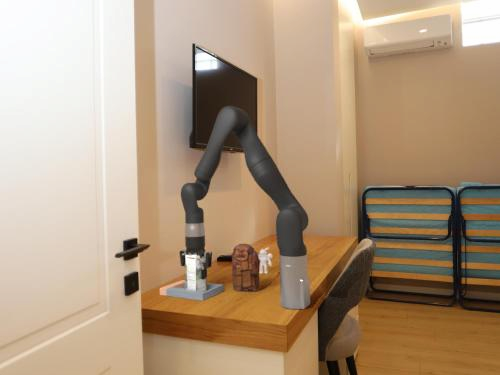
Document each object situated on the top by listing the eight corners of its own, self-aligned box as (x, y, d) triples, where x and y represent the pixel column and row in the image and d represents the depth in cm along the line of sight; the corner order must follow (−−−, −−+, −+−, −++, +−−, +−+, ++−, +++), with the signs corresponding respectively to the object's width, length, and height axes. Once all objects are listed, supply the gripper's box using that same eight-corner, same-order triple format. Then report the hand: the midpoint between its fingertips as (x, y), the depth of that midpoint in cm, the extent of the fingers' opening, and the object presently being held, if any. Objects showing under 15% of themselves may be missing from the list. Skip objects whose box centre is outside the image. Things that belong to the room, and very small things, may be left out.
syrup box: (196, 289, 155) (195, 252, 155) (207, 291, 151) (206, 253, 151) (185, 292, 151) (184, 254, 151) (196, 294, 147) (195, 255, 147)
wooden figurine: (228, 291, 153) (227, 244, 153) (233, 286, 159) (232, 242, 159) (257, 292, 150) (256, 245, 150) (262, 288, 156) (260, 242, 156)
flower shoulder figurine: (273, 272, 183) (273, 246, 183) (272, 274, 179) (271, 248, 179) (255, 271, 185) (254, 246, 185) (252, 273, 181) (252, 247, 181)
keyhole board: (223, 290, 154) (223, 284, 154) (202, 300, 141) (202, 293, 141) (182, 285, 163) (182, 279, 163) (159, 294, 151) (159, 288, 151)
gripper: (216, 234, 151) (217, 277, 151) (186, 232, 158) (187, 274, 158) (204, 236, 144) (206, 282, 144) (173, 235, 151) (175, 278, 151)
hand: (196, 278), depth 151 cm, fingers closed on syrup box, 6 cm apart
